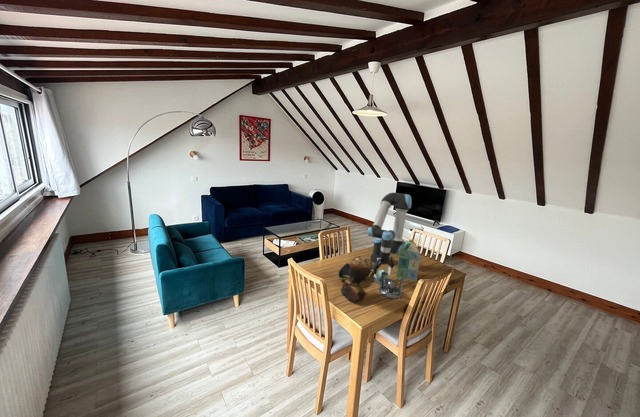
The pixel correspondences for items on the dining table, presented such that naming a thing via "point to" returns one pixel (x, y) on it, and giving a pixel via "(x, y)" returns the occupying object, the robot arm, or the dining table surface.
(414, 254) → the printed tall block
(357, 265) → the bust
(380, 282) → the coaster
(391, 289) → the grey metal piece
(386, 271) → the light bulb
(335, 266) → the dining table surface
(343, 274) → the mask
